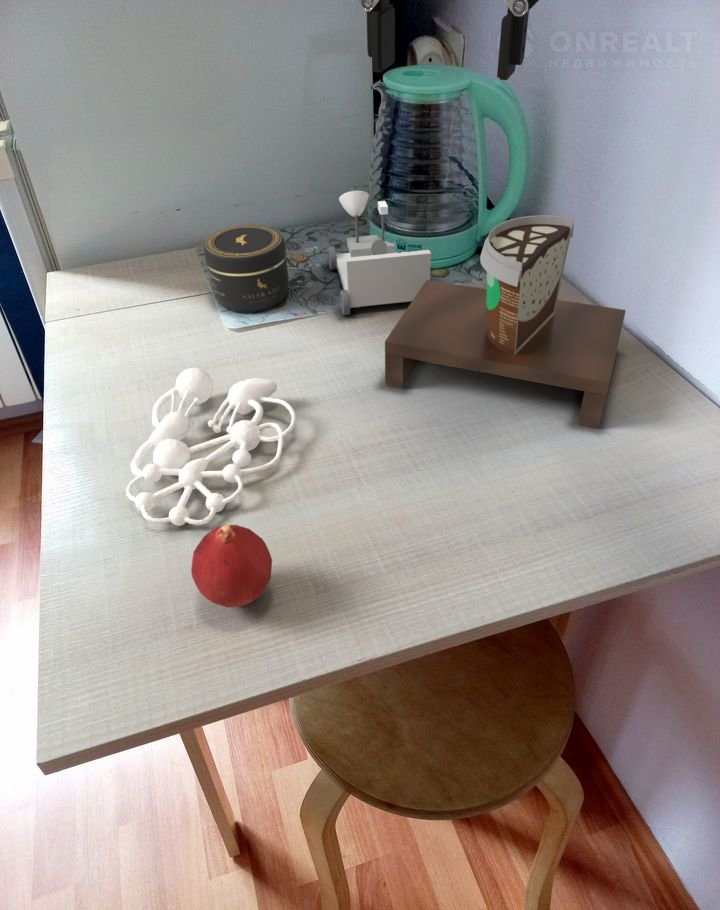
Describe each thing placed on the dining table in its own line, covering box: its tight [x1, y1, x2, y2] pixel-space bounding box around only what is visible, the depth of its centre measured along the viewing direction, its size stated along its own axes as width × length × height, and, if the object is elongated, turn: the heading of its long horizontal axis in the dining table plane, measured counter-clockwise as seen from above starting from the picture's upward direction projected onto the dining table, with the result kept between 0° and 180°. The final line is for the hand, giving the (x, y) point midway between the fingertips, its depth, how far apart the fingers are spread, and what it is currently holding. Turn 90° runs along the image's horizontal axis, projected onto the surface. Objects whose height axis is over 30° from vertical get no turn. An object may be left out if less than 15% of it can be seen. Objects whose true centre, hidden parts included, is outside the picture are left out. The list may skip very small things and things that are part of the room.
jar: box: [203, 224, 289, 314], centre depth 88 cm, size 10×10×8 cm
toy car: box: [327, 186, 432, 316], centre depth 90 cm, size 18×10×12 cm
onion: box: [190, 524, 273, 608], centre depth 52 cm, size 6×6×8 cm
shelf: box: [384, 279, 626, 429], centre depth 75 cm, size 22×14×6 cm, turn 68°
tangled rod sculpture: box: [125, 367, 297, 527], centre depth 66 cm, size 19×14×4 cm
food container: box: [479, 215, 575, 355], centre depth 70 cm, size 12×6×10 cm, turn 144°
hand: (443, 71), depth 54 cm, fingers open, 9 cm apart
